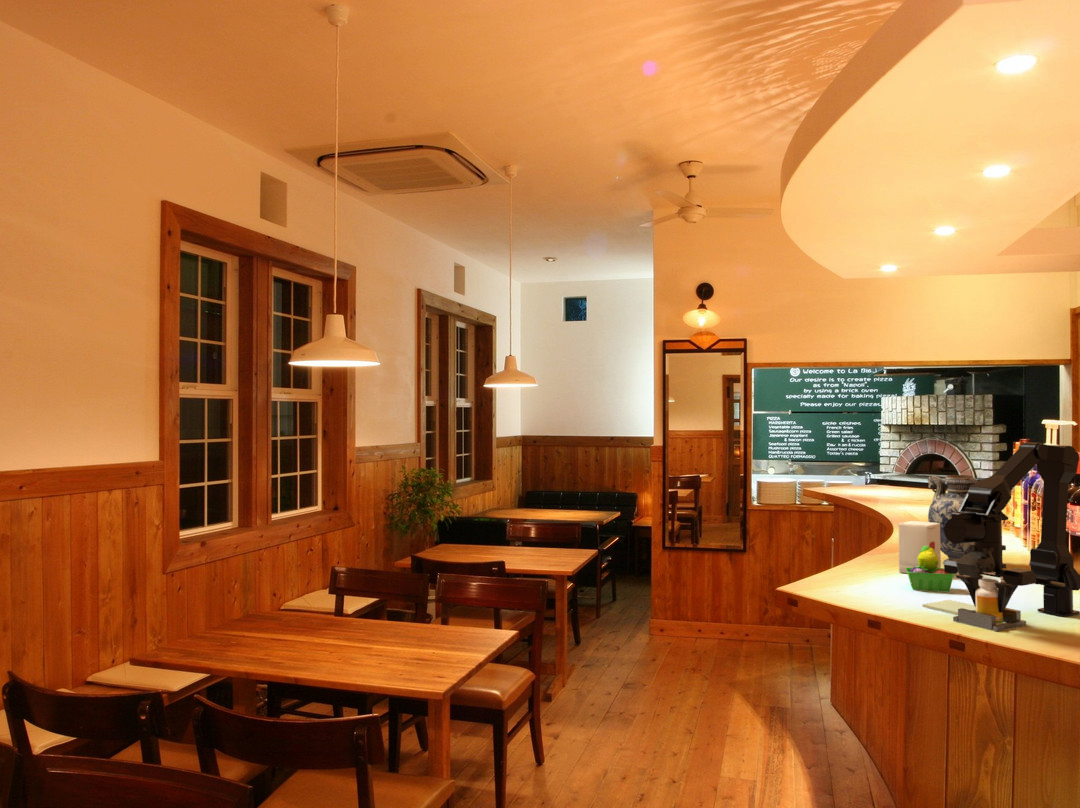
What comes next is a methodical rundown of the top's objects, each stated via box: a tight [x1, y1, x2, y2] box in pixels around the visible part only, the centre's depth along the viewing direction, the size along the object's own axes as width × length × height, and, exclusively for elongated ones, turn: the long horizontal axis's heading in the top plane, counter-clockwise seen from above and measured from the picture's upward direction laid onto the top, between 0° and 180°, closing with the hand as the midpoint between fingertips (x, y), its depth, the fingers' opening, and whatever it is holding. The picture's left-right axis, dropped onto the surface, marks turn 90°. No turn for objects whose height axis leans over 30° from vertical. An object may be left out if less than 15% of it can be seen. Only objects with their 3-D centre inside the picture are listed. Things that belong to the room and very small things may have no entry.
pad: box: [921, 599, 976, 616], centre depth 199 cm, size 10×10×1 cm
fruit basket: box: [906, 546, 955, 593], centre depth 222 cm, size 11×9×11 cm
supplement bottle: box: [975, 578, 1004, 625], centre depth 185 cm, size 5×5×10 cm
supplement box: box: [898, 520, 942, 575], centre depth 244 cm, size 9×9×15 cm
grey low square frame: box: [952, 607, 1027, 632], centre depth 185 cm, size 10×10×3 cm
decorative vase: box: [927, 474, 978, 565], centre depth 256 cm, size 21×19×28 cm
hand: (989, 609), depth 185 cm, fingers closed on supplement bottle, 5 cm apart
